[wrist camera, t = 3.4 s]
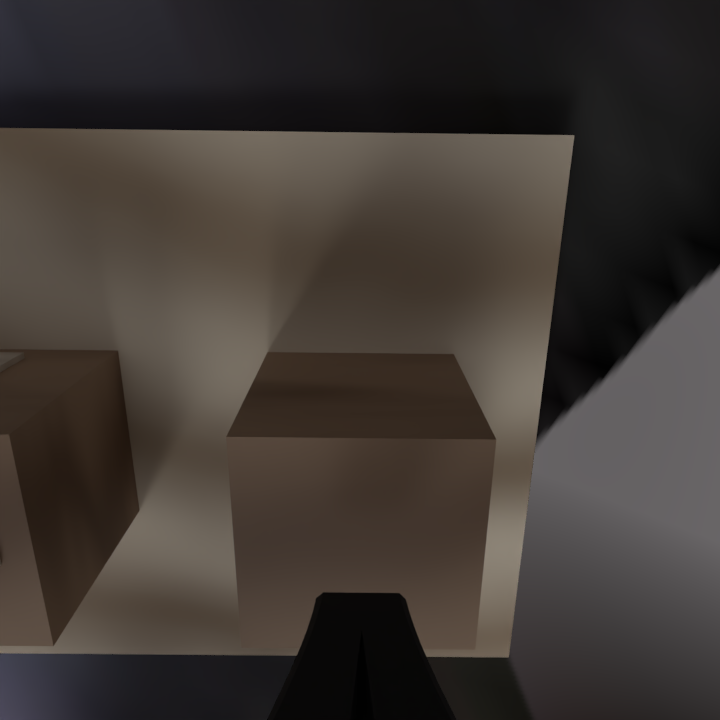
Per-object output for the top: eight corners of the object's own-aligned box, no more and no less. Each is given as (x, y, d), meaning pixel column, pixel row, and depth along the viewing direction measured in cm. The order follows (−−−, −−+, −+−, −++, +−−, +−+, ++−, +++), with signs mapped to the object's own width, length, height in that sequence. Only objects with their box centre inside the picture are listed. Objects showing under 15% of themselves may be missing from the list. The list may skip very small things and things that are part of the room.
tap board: (501, 633, 20) (508, 657, 19) (-313, 626, 19) (-348, 650, 19) (560, 137, 14) (574, 135, 13) (-553, 122, 14) (-617, 119, 13)
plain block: (442, 513, 17) (475, 649, 12) (274, 512, 17) (241, 647, 12) (453, 354, 15) (496, 439, 10) (267, 352, 15) (226, 436, 10)
